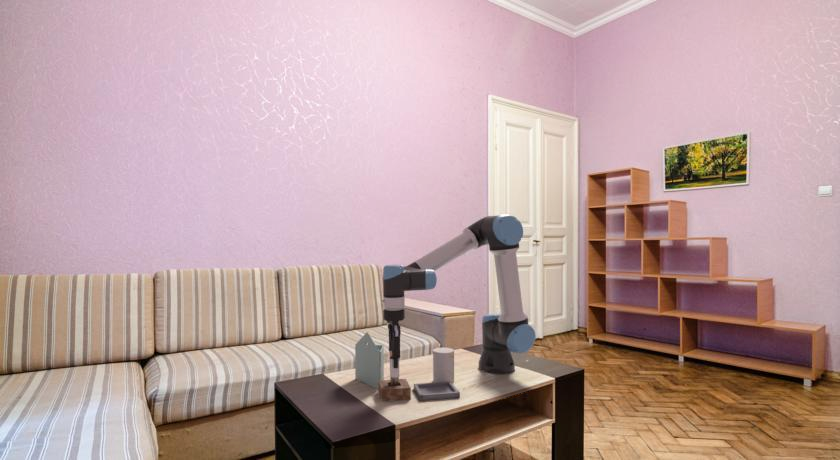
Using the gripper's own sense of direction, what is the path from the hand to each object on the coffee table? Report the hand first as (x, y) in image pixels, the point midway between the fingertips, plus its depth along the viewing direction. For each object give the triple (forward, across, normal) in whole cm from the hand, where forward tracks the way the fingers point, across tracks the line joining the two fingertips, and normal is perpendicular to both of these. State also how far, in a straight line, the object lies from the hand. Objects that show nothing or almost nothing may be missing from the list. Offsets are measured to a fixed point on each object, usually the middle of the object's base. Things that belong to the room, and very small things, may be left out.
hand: (394, 374), depth 156 cm
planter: (+7, -16, -5) cm, 18 cm away
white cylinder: (+8, -11, +21) cm, 25 cm away
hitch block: (+7, 0, 0) cm, 7 cm away
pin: (+6, 0, 0) cm, 6 cm away
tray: (+7, +1, +15) cm, 17 cm away
